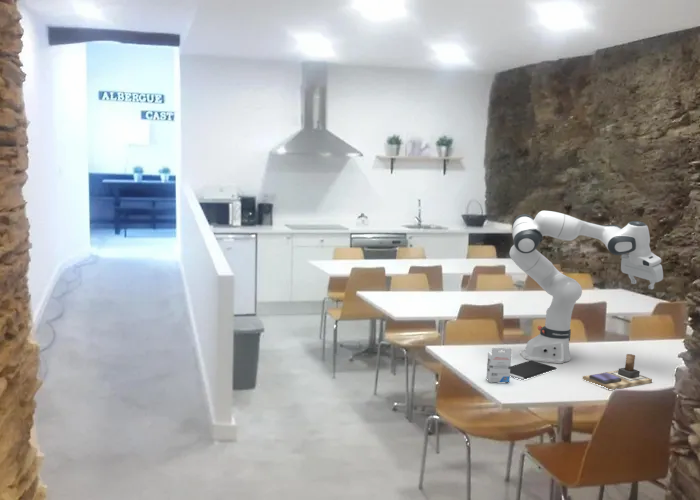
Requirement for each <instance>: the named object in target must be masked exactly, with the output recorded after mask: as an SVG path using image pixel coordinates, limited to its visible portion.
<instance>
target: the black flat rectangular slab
mask: <svg viewBox="0 0 700 500" xmlns="http://www.w3.org/2000/svg"><path fill="white" fill-rule="evenodd" d="M556 369H557V366H554V365H550V364H546V363H544V362H543V363H542V362H541V361H533V360H528V361H525V362H521V363H517V364H514V365H511V367H510V376H511V377H515V378H518V379H521V380H524V379H527V378H531V377H534V376H537V375H540V374H543V373H546V372H549V371H552V370H555V371H557V370H556ZM552 372H553V371H552ZM549 373H550V372H549ZM546 374H547V373H546ZM543 375H544V374H543ZM540 376H541V375H540ZM511 377H510V378H511ZM537 377H538V376H537ZM515 378H514V379H515ZM534 378H535V377H534ZM518 379H517V380H518ZM531 379H532V378H531ZM521 380H520V381H521Z"/></svg>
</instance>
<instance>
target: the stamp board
mask: <svg viewBox="0 0 700 500" xmlns="http://www.w3.org/2000/svg"><path fill="white" fill-rule="evenodd" d="M582 379H584V380H586V381H585V382H587V381H589V382H592V383H595V384H598V385H601V386H604V387H606V388H608V389H615V390H617V389H616V388H620V389H625V388H626V389H627V388H629V387H630V388H631V387H635V386H641V385H646V384H652V383H653V379H652V378H651V377H647V376H644V375H641V374H639V377H636V378H630V379H629V378H627V377H624V376H621V375H619V374H618V369H617V370H612V371H605V372H600V373H599V372H598V373H594V374H588V375H582ZM582 379H581V380H582ZM584 380H583V381H584ZM589 382H588V383H589ZM592 383H591V384H592Z"/></svg>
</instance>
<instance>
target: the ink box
mask: <svg viewBox="0 0 700 500" xmlns="http://www.w3.org/2000/svg"><path fill="white" fill-rule="evenodd" d="M500 351H501V352H500ZM511 363H512V348H511V347H509V348H508V347H492V349H491V351H488V352H487V362H486V376H485V378H487V379H488V380H487V379H486V380H487V381H488V383H490V382H509V383H510V378H511V377H510V367H511V366H512V365H511Z"/></svg>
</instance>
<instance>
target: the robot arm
mask: <svg viewBox="0 0 700 500" xmlns="http://www.w3.org/2000/svg"><path fill="white" fill-rule="evenodd" d="M511 228H512V231H511V232H512V233H511V236H512V239H513V245H512V246H511V247H510V250H509V257H510V259H511V260H512V262H513V263H515V264H516V265H517V267H518V268H520V269H521V271H523V272H524V273H525V274H526V275H527V276H529V277H530V278H531V279H532V280H534V282H536V283H537V284H538V286H540V288H541V289H543V291H544V292H546V293H547V294H548V295H550V296H552V300H551V303H550V305H549V306H548V308H547V309H546V312H545V313H546V314H545V323H544V324H545V325H544V326H541V325H538V326H537V330H538V331H539V334H538V335H536V336H534V337H533V338H531V339H529V340H528V341H527V342H526V346H525V349H522V350H520V354H519V355H520V356H521V357H522V358H524V359H525V360H528V361H531V360H533V361H536V362H540V363H542V362H543V363H551V364H552V363H553V364H563V363H565V362H570V361H571V360H572V358H571V354H570V340H571V334H572V333H571V331H572V329H571V322H572V315H573V311H574V307H575V304H576V302H577V301H578V300H579V299H580V298H581V296H582V294H583V289H582V285H581V284H580V283H579V282H578V281H577V280H576V279H575V278H572V277H570V276H568V275H565V274H564V273H562V272H561V271H560V270H559V269H557V267H555V266H554V263H553V262H552V261H550V260H549V259H548V258H547V257H546V256H545V255H543V254H542V253H541V252H540V251H539V250H538V249H537V248H538V246H539V245H540V244H541V243H542V242H543V239H544V236H548V237H551V238H554V239H558V240H560V241H561V240H562V241H573V240H575V239H577V238H578V237H579V236H585V237H588V238H592V239H596V240H598V241H601V242H602V243H603V244H604V245H605V247H606V249H607V250H608V252H609V253H611V254H612V255H615V256H621V260H620V271H621V272H622V273H623V274H625V275H627V277H628V278H629V279H630V283H631V284H633V285H635V284H637V279H635V277H637V278H639V279H643V280H646V281H649V283H650V284H649V285H647V286H648V290H654V288H655V284H656V283H659V282H661V281H663V279H664V271H663V265H662V264H661V263H662V258H661V257H660V256H658V255H656V254H655V253H654V252H652V251H651V247H650V242H651V237H650V235H651V234H650V231H649V226H648V225H647V224H646V223H645V222H643V221H638V220H632V221H629V222H628V223H627V224H626V225H625V226H624V227H621V226H620V225H619V224H604V225H603V224H598V223H594V222H590V221H586V220H581V219H579V218H577V217H574V216H571V215H569V214H565V213H561V212H558V211H551V210H541V211H539V212H538V213H537V214H536V215H535V217H534V218H533V216H532V215H530V214H527V213H522V214H519V215H517V216H516V217H515V218H514V219H513V222H512V226H511Z"/></svg>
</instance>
